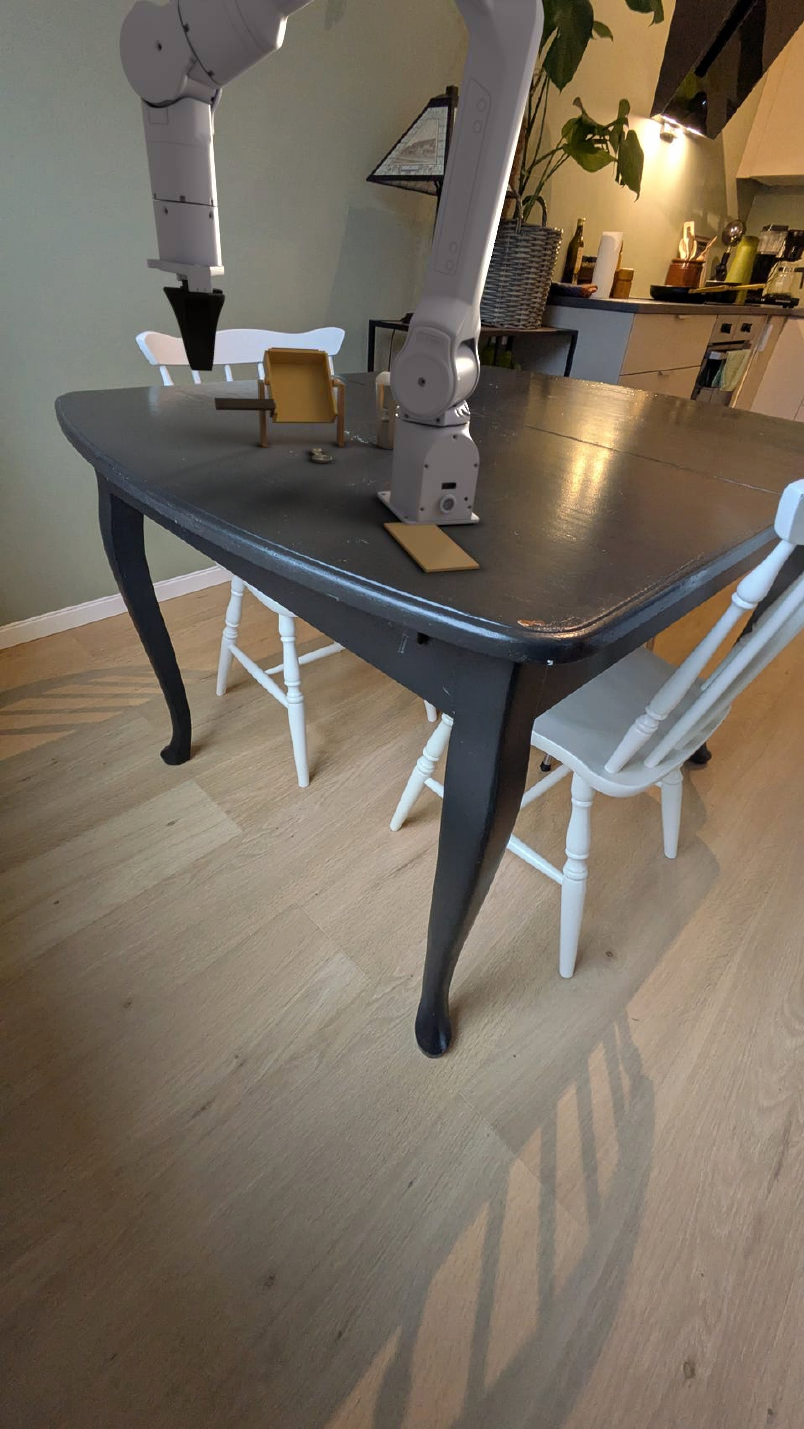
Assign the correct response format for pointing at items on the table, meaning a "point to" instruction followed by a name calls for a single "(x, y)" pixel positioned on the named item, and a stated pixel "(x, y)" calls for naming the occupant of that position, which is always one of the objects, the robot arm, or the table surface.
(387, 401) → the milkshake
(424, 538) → the mat
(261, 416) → the stand
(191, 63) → the robot arm
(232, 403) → the tray
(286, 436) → the table surface
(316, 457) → the key
